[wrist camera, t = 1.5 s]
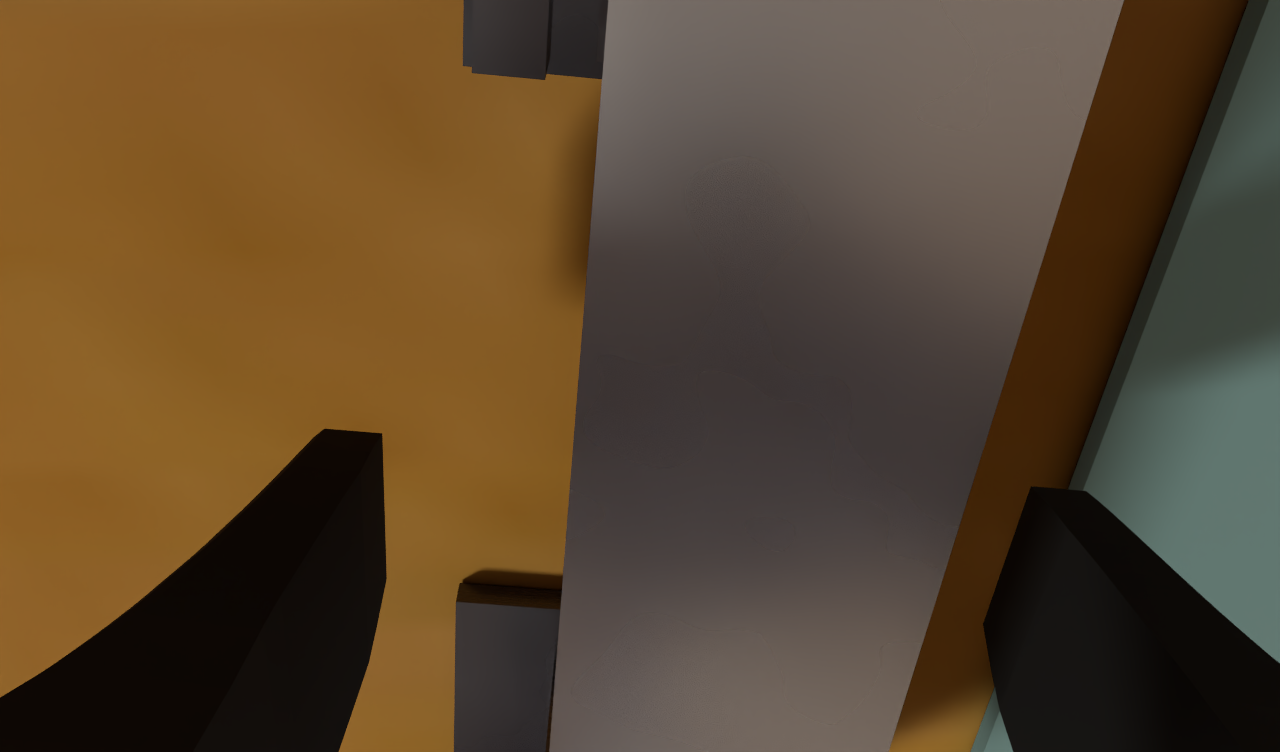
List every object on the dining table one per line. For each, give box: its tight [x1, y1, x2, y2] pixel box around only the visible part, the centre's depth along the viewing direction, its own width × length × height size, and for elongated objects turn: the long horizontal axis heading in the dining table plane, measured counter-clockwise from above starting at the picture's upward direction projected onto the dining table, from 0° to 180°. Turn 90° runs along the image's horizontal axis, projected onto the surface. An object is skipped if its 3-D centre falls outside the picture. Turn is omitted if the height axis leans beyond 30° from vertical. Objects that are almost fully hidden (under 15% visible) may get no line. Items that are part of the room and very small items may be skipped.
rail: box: [549, 0, 1124, 752], centre depth 11 cm, size 18×3×4 cm, turn 175°
